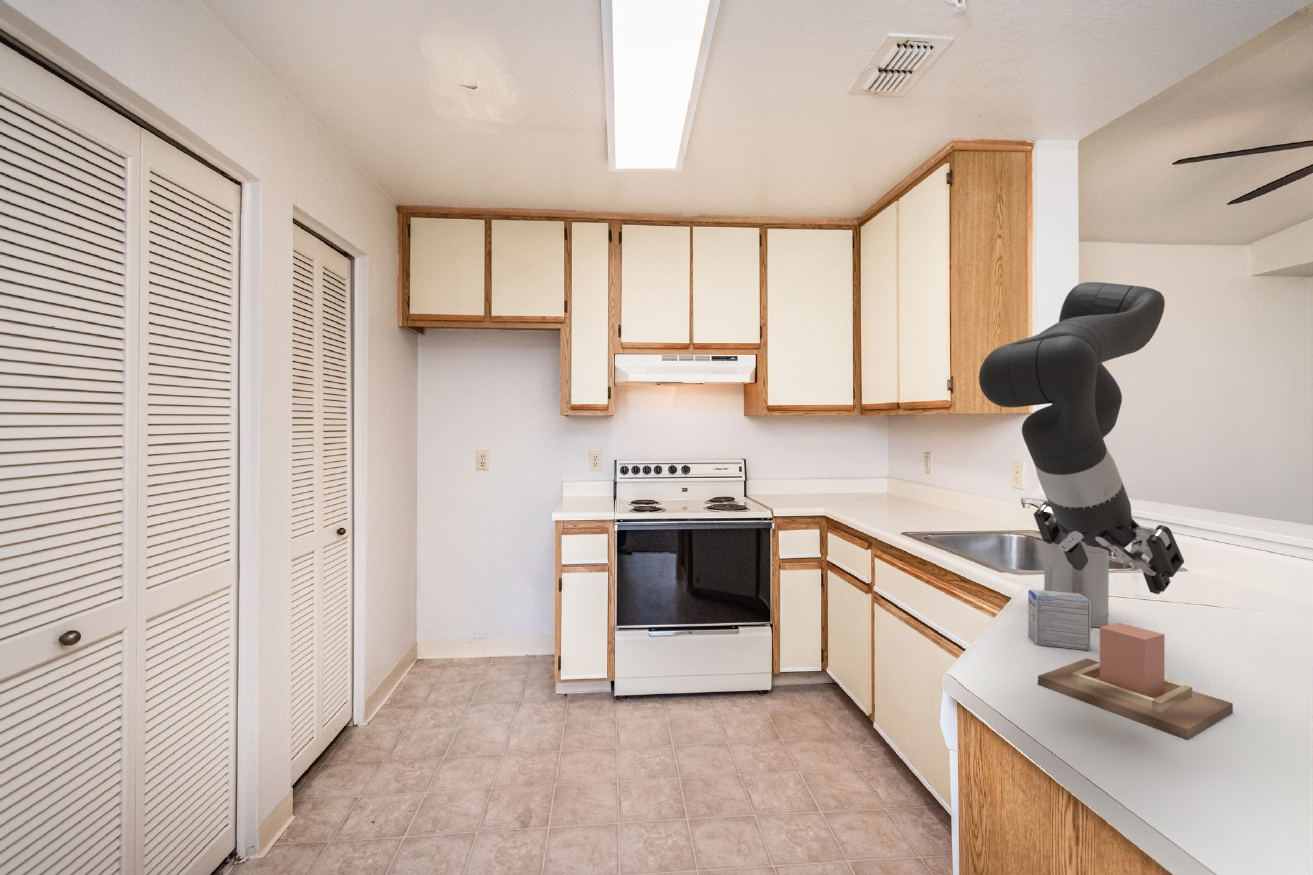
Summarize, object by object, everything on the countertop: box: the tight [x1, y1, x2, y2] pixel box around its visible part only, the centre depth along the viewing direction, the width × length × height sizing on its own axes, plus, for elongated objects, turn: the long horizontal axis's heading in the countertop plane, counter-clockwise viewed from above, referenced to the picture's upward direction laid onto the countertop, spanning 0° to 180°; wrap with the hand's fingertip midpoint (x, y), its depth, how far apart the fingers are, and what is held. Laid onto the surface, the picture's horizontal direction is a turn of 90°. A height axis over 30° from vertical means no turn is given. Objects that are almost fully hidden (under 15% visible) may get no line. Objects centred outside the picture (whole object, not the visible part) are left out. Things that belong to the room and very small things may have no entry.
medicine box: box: [1027, 589, 1092, 651], centre depth 92 cm, size 8×4×9 cm, turn 71°
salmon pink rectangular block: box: [1099, 622, 1166, 698], centre depth 73 cm, size 5×5×8 cm
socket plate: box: [1037, 658, 1234, 741], centre depth 73 cm, size 16×14×2 cm
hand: (1117, 576), depth 69 cm, fingers open, 8 cm apart
